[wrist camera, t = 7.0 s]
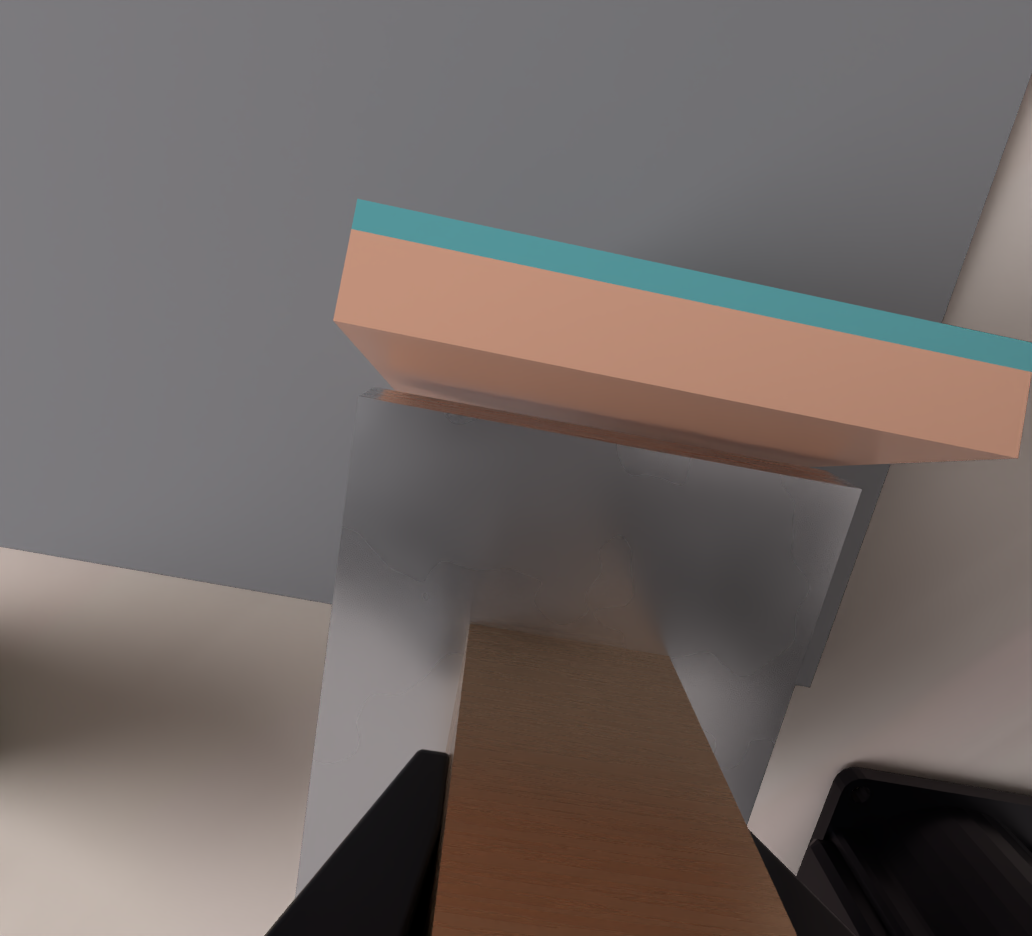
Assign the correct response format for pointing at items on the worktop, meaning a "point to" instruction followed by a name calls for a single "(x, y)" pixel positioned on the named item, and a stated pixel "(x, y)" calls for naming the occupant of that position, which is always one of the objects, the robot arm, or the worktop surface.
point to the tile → (669, 349)
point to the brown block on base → (569, 664)
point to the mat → (433, 190)
